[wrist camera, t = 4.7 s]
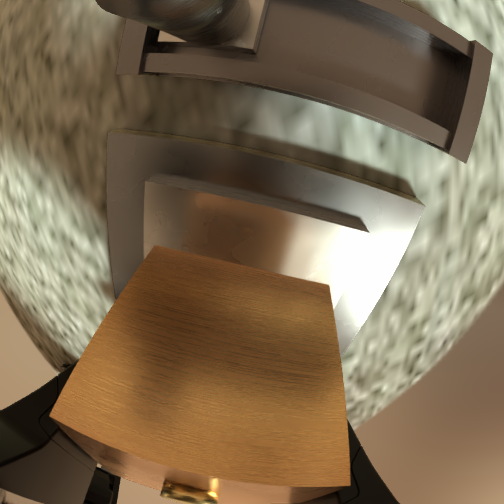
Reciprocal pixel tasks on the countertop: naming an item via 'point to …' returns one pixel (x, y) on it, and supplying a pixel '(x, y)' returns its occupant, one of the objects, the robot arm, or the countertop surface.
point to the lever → (198, 21)
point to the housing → (214, 385)
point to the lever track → (344, 65)
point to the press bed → (256, 216)
